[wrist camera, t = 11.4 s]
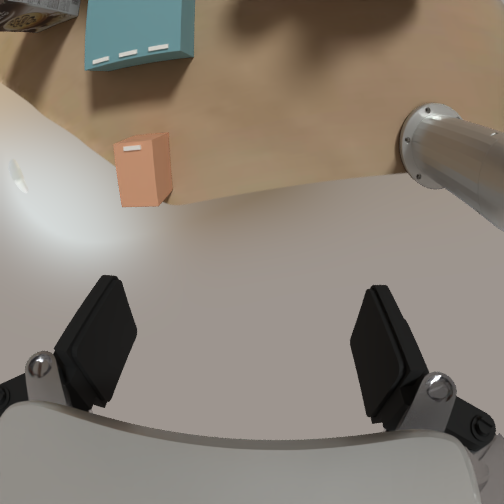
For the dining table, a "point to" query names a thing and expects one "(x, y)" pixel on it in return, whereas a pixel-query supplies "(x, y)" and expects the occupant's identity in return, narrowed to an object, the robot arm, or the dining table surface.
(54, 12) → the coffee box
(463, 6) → the dining table surface
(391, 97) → the dining table surface
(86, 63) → the teal rectangular block
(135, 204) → the stub
